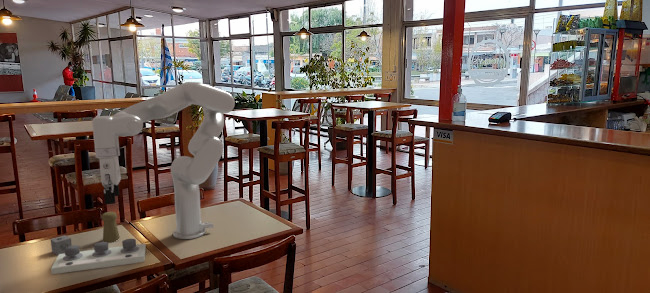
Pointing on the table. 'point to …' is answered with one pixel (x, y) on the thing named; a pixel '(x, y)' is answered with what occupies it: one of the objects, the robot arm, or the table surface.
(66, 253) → the button
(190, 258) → the table surface
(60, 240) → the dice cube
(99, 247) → the middle button
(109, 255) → the button board
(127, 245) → the button
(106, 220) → the cork
